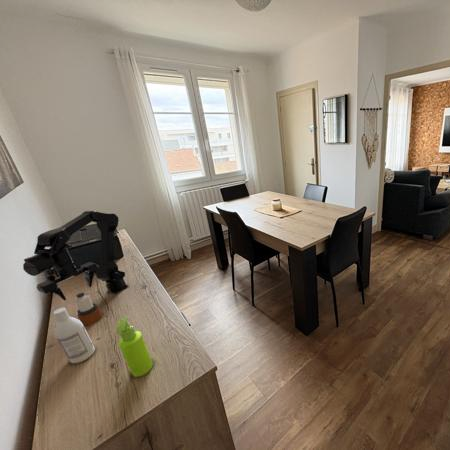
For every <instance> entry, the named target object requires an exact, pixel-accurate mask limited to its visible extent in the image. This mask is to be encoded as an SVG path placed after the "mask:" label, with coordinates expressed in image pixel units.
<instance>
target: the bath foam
mask: <svg viewBox="0 0 450 450" xmlns="http://www.w3.org/2000/svg"><path fill="white" fill-rule="evenodd" d="M52 314H53V315H54V318H55V320H56V321H57V323H56V325H55V328H54V336H55V338H56V340H57V342H58V343H59V346H60V347H61V348H62V351H63V353H64V355H66V357H67V359H68V361H69V362H70V363H71V364H79V363H82V362H84V361H87V359H89V358H90V357H92V355H93V354H94V353H95V352H96V351H95V350H96V347H95V345H94V343H93V341H92V339H91V337H90V335H89V333H88V331H87V329H86V327H85V325H83V324H82V322H81V321H80V319H79V318H75V317H72V316H70V315H69V312H68V311H67V309H66V308H65V307H59V308H58V309H55V310H54V311H53V312H52Z"/></svg>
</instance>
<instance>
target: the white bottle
mask: <svg viewBox="0 0 450 450" xmlns="http://www.w3.org/2000/svg"><path fill="white" fill-rule="evenodd" d="M74 302H75V304H76V306H77V308H78V310H80V311H81V312H84V311H87V310H89V309H91V308H92V307H93V301H92V300H91V297H90V295H89V294H85V293H84V292H79V293H77V294H76V298H75V299H74Z"/></svg>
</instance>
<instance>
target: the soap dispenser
mask: <svg viewBox="0 0 450 450" xmlns="http://www.w3.org/2000/svg"><path fill="white" fill-rule="evenodd" d="M128 320H129V318H128V317H125V318H121V319H119V321H118V324H117V326H116V331H115V333H116V334H118V333H119V335H120V337H121V338H120V340H119V341H118V346H119V348H120V351H121V353H122V355H123V357H124V359H125V361H126V363H127V366H128V368H129V370H130V373H131V375H132V376H133V377H134V378H135V377H136V378H138V377H142V376H145V375H146V374H147V373H148V372H150V370H152V368H153V365H154V362H153V359H152V358H151V355H150V352H149V350H148V347H147V345H146V342H145V339H144V337H143V335H142V333H141V331H138V330H135V328H134V326H133V325H129V323H128Z"/></svg>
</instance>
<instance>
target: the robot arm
mask: <svg viewBox="0 0 450 450" xmlns="http://www.w3.org/2000/svg"><path fill="white" fill-rule="evenodd" d="M119 220H120V219H119V216H118V215H117V214H116V213H107V212H101V211H96V210H85V211H83V212H82V213H81V214H80V215H78V216H76V217H74V218H73V219H71V220H69V221H67V222H66V223H65V224H63V225H61V226H60V227H57V228H54V229H53V228H52V229H50V230H47V231H45V232H42V233H40V234H39V235H38V236H37V239H36V241H37V242H36V245H35V248H34V252H33V255H32V256H29V257H26V258H23V261H24V263H23V264H22V269H23V271H24V272H25V273H26V274H27V275H29V276H31V277H36V276H38V275H40V274H42V273H44V275H45V277H47V278H49V277H52V276H53V277H55V278H56V279H54V280H51V279H47V280H45V281H42V282H39V283H37V285H36V289H37V291H38V292H40V293H42V294H45V295H46V294H55V295H56V296H58V297H59V298H60V299H62V300H63V301H66V300H67V298H66V296H65V295H64V293H63V290H62V289H61V288H60V287H59V286H58V285H59V284H62V283H63V282H66V281H68V280H70V279H72V278H75V277H76V276H79V275H81V274H83V276H84V278H85V281H86V284H87V286H88V287H89V288H92V286H93V279H94V276H95V277H96V278H97V279H98V280H101V281H102V282H105V287H106V289H107V292H109V293H111V294H114V295H115V294H118V293H119V292H122V291H123V290H125V289H126V288H129V285H128V284H126V282H125V279H124V278H125V277H126V272H125V271H122V270H119V266H118V264H117V262H115V231H116V230H117V228H118V226H119V222H120V221H119ZM92 222H93V223H96V227H97V228H98V230H99V231H100V262H99V264H97V263H95V262H92V261H89V262H86V263H84V264H81V265H80V268H79V269H77V267H76V262H75V261H74V260H73V258H72V256H71V254H70V252H69V250H68V249H70V248H72V247H73V244H69V243H68V242H69V241H70V240H71V238H72V236H73V235H74V234H75V233H76V232H78V231H80V230H81V229H83V228H84V227H86V226H87V225H89V224H90V223H92Z"/></svg>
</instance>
